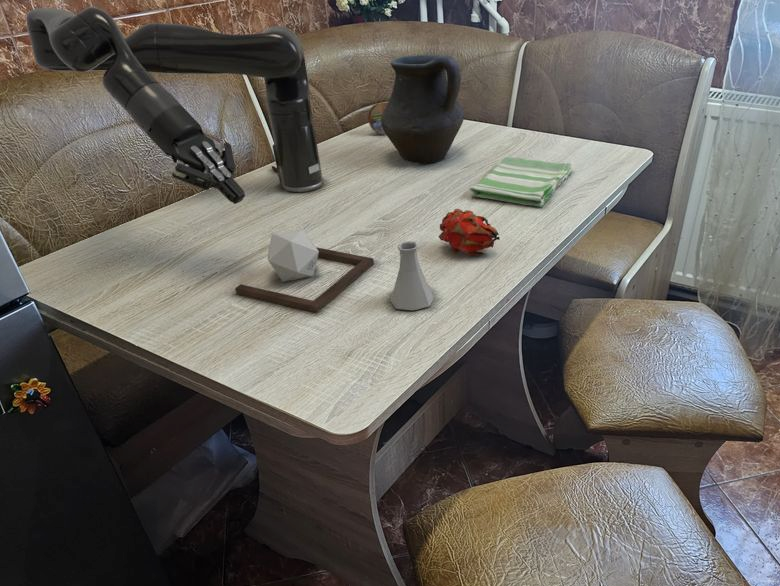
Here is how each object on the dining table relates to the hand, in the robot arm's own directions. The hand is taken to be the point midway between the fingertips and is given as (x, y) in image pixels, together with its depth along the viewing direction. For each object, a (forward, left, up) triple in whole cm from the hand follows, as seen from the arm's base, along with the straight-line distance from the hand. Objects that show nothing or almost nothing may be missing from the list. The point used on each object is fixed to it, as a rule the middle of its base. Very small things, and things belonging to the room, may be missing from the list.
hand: (240, 199), depth 107 cm
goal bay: (+10, +2, -13) cm, 17 cm away
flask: (+31, +6, -13) cm, 35 cm away
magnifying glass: (-31, +78, -13) cm, 85 cm away
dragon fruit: (+29, +26, -13) cm, 41 cm away
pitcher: (-9, +64, -13) cm, 66 cm away
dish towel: (+21, +60, -13) cm, 65 cm away
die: (+8, +2, -13) cm, 16 cm away
